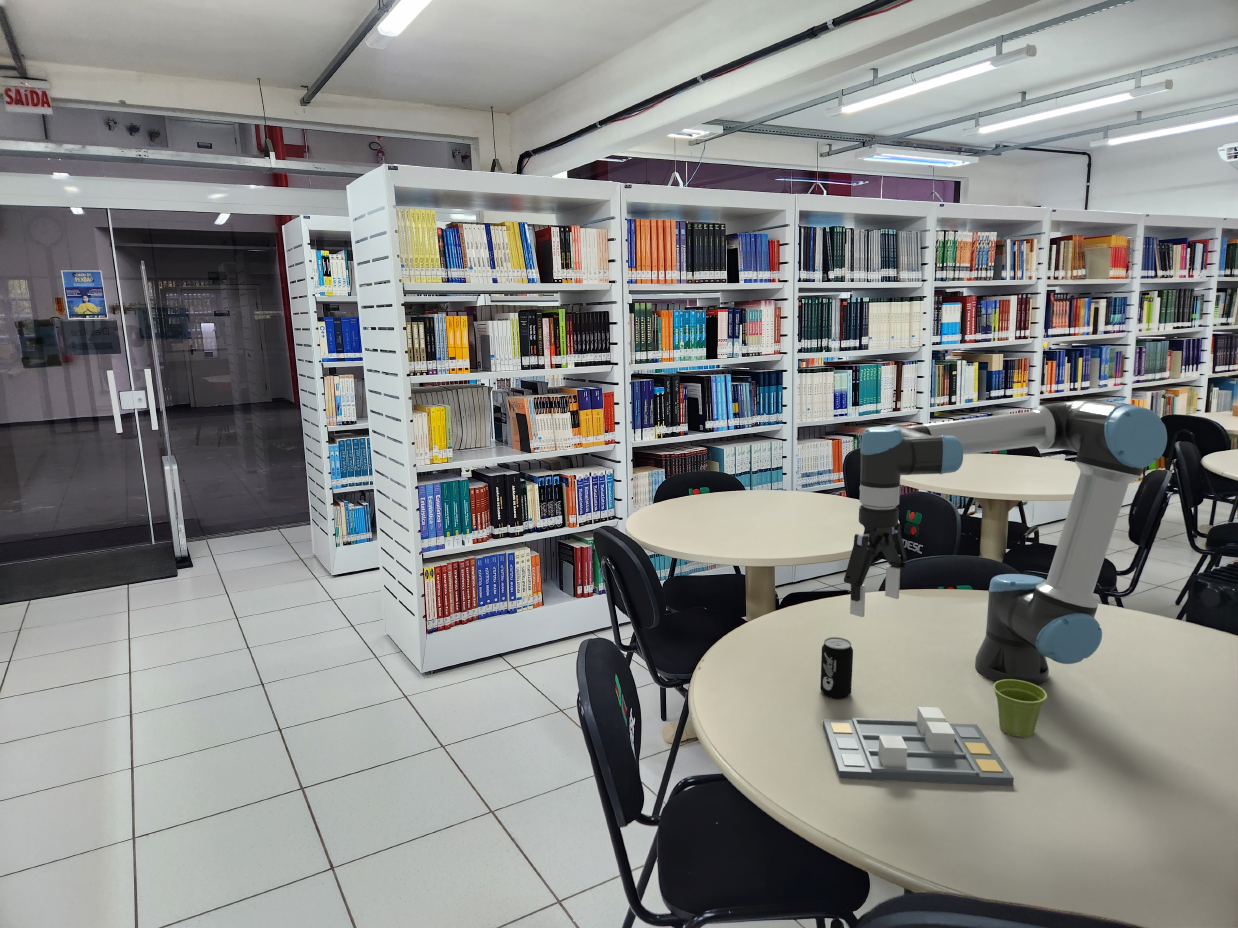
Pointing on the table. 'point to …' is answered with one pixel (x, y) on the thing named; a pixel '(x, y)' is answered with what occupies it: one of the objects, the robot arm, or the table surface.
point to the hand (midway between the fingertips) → (875, 605)
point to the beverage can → (836, 668)
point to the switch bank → (913, 753)
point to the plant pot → (1018, 706)
